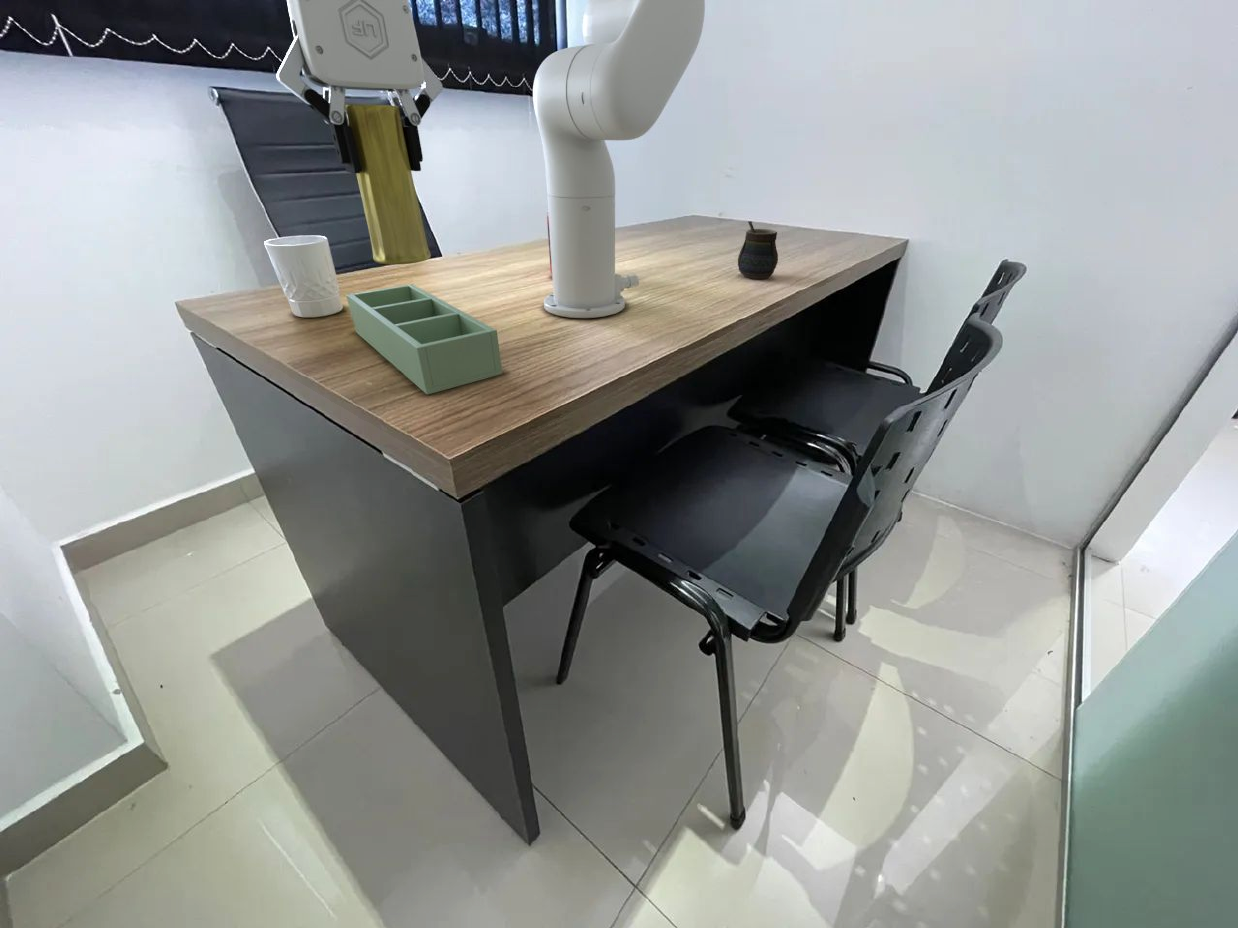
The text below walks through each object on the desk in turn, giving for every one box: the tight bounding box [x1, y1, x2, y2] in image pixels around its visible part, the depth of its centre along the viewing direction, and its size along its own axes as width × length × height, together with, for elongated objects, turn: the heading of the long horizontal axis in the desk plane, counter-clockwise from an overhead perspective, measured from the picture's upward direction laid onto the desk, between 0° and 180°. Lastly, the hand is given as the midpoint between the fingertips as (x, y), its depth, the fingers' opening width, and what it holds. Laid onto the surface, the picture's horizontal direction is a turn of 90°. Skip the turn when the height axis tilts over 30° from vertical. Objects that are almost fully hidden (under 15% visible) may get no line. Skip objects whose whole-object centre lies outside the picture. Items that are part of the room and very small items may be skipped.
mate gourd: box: [737, 220, 779, 280], centre depth 94 cm, size 7×8×10 cm
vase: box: [344, 104, 432, 265], centre depth 54 cm, size 6×6×14 cm
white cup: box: [263, 235, 344, 319], centre depth 75 cm, size 8×8×10 cm
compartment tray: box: [345, 283, 503, 396], centre depth 62 cm, size 9×25×5 cm, turn 39°
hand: (384, 169), depth 53 cm, fingers closed on vase, 5 cm apart
